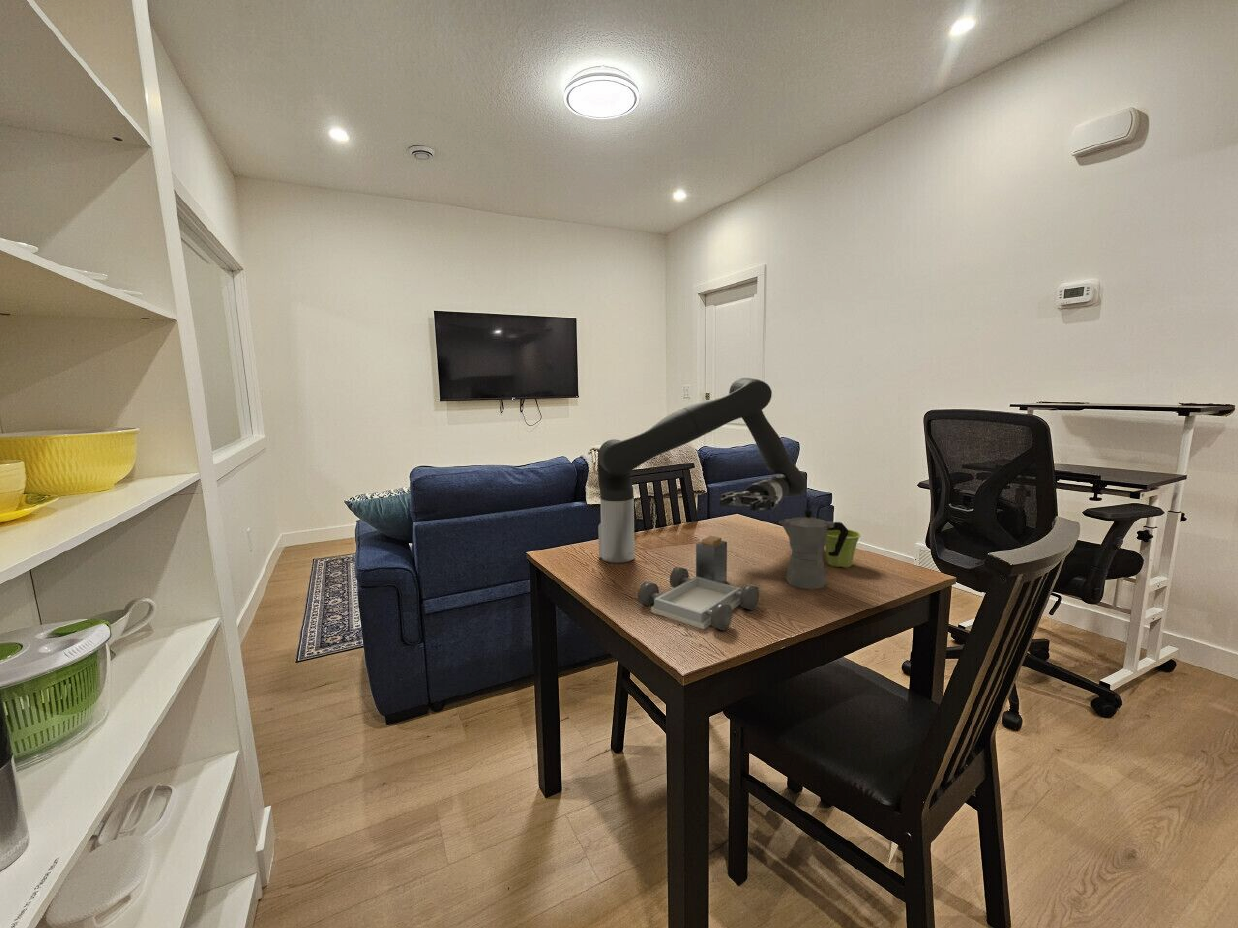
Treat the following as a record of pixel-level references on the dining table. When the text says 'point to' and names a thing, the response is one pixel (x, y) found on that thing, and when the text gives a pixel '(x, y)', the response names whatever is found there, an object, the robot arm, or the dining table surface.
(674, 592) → the chassis
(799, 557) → the coffeepot
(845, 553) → the plant pot
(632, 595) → the dining table surface
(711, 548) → the tall block with cap
